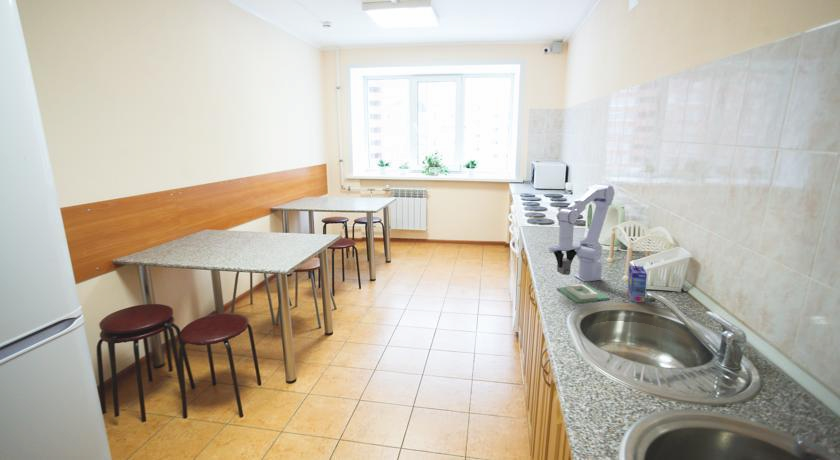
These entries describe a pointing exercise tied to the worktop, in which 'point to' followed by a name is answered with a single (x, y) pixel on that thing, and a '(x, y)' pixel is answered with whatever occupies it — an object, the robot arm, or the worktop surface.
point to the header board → (582, 293)
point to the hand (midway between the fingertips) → (564, 266)
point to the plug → (565, 267)
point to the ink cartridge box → (637, 283)
